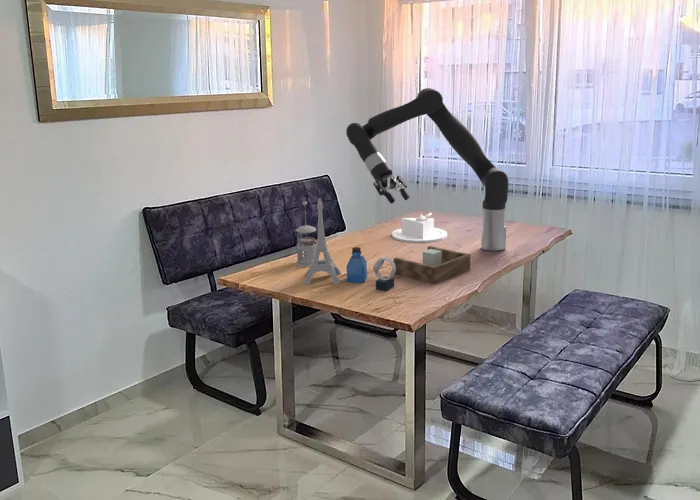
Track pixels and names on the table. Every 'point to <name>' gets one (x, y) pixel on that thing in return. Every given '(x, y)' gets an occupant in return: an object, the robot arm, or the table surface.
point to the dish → (419, 230)
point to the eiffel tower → (327, 262)
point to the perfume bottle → (356, 267)
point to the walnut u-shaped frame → (434, 267)
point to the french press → (305, 245)
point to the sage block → (432, 257)
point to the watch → (384, 282)
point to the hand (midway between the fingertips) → (400, 200)
